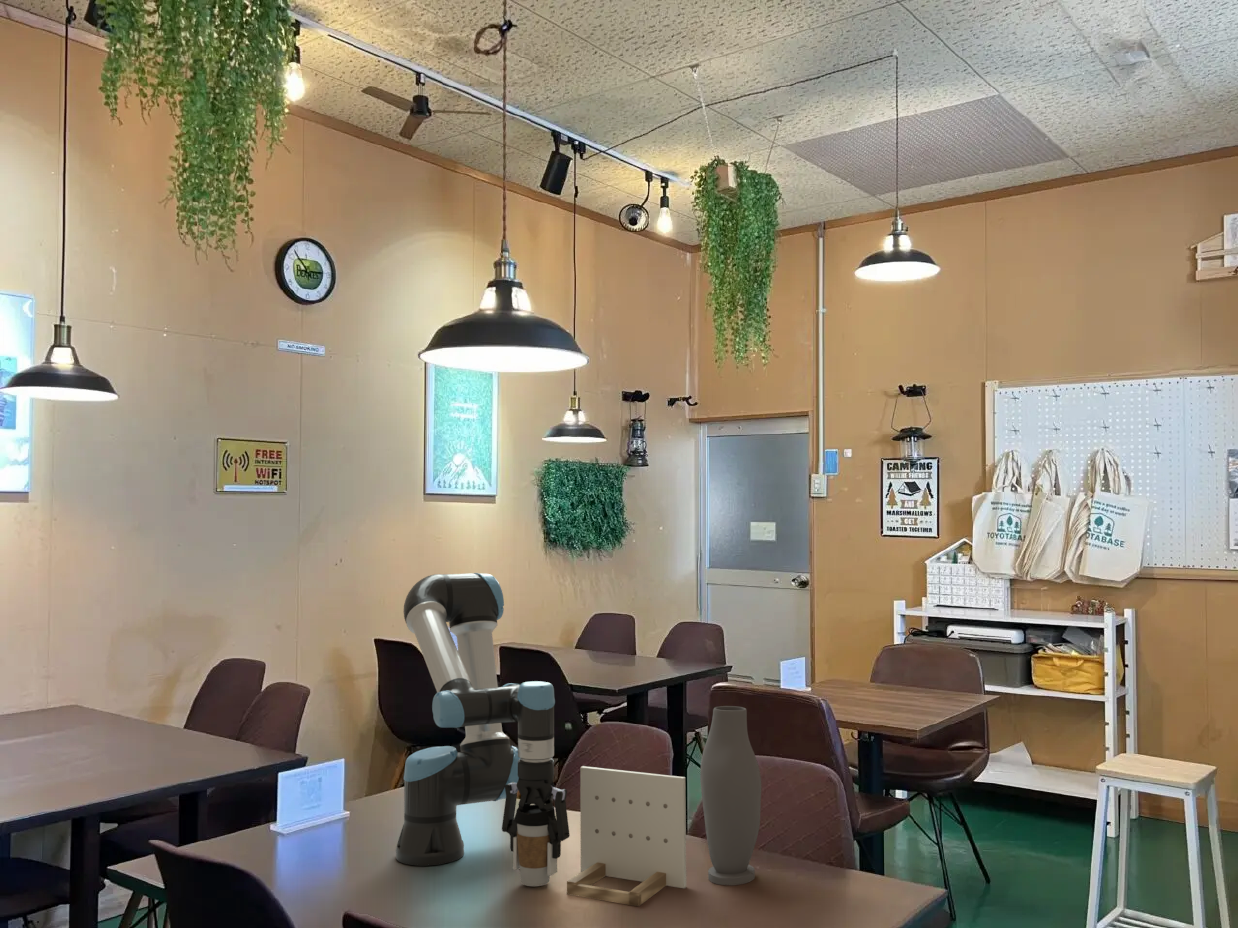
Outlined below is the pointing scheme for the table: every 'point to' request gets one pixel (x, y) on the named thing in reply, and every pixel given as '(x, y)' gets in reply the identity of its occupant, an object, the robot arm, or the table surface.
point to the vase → (730, 797)
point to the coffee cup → (533, 844)
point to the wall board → (633, 824)
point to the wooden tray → (635, 897)
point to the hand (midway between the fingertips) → (535, 870)
